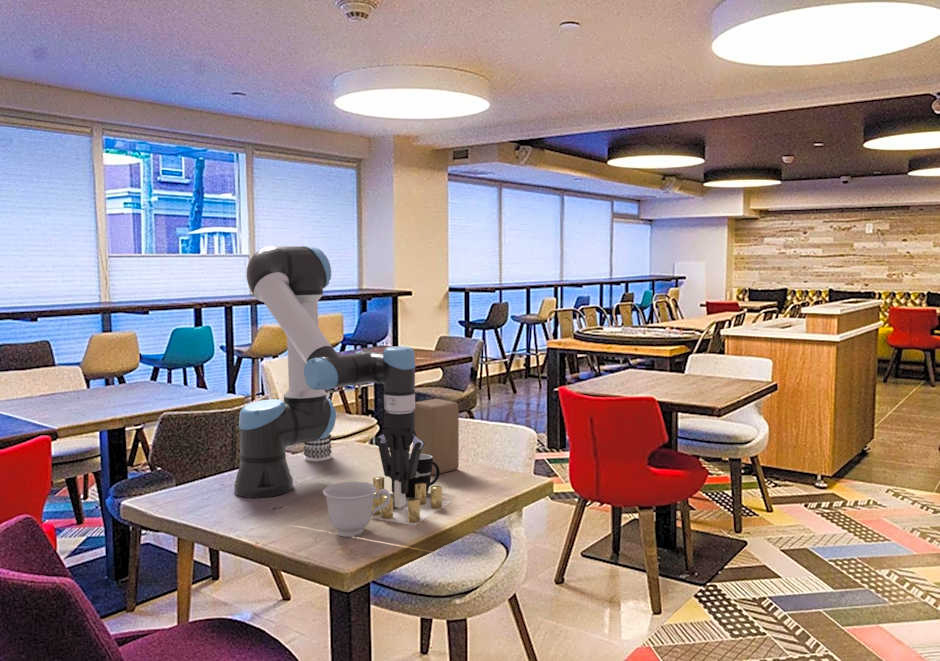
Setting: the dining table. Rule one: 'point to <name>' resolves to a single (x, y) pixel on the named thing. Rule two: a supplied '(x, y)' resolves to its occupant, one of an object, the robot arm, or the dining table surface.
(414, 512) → the spacers
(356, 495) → the teacup
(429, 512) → the tray
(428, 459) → the mug
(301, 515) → the dining table surface
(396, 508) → the silver dome
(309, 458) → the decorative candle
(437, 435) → the block
